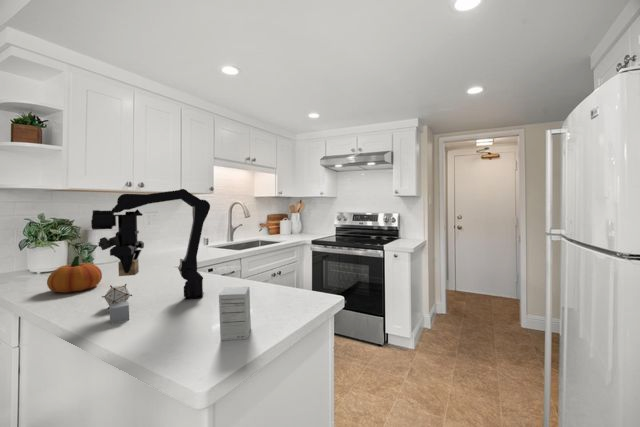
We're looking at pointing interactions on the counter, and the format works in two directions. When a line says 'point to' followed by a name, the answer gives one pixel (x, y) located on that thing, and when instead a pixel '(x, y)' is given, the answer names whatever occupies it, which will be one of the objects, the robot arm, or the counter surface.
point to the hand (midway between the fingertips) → (128, 271)
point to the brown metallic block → (133, 269)
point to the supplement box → (234, 313)
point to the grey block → (119, 312)
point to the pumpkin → (74, 277)
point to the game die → (117, 295)
